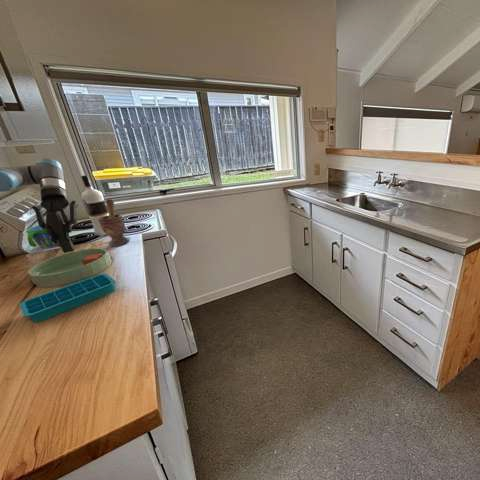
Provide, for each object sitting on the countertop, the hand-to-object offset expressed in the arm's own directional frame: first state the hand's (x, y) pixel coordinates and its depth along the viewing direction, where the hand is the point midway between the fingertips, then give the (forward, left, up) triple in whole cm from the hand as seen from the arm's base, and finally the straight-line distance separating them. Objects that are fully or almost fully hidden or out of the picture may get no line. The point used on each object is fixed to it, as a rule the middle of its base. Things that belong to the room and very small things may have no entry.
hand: (61, 240), depth 99 cm
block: (+10, -13, -9) cm, 19 cm away
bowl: (+3, -12, -10) cm, 16 cm away
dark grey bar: (0, +4, -6) cm, 7 cm away
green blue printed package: (-12, +30, -10) cm, 34 cm away
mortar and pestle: (+15, +15, -10) cm, 23 cm away
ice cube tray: (+7, -36, -10) cm, 38 cm away
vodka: (+8, +37, -10) cm, 39 cm away
